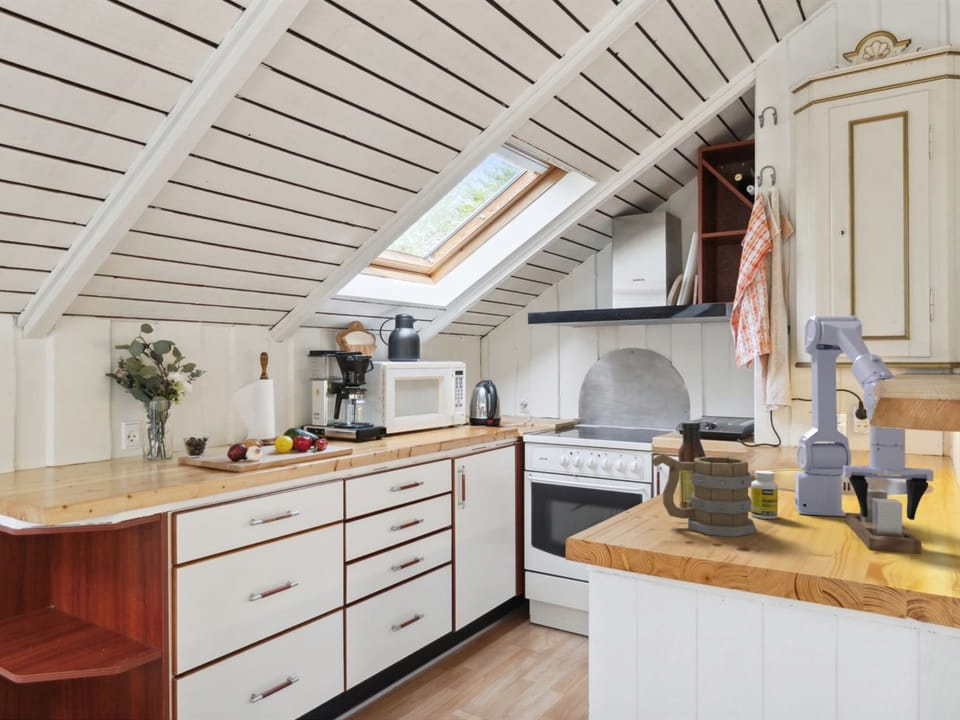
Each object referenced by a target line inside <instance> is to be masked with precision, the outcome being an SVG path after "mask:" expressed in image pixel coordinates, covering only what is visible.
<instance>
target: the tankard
mask: <svg viewBox="0 0 960 720" xmlns="http://www.w3.org/2000/svg"><path fill="white" fill-rule="evenodd" d="M651 462H652V464H653V466H654V467H657V466H660V465H661V464H664V465H666V466H667V467H669V469H668V479H667V482H666V483H665V487H664V489H663V491H662V504H663V506H664V508H665V510H666V511H667V513H668V515H669V516H670V517H674V518H678V519H681V520H682V519H687V526H688V529H689V531H693V532H697V533H701V534H704V535H707V536H717V537H732V538H733V537H734V538H736V537H742V536H748V535H753V534H755V533H756V525H755V523H754V520H753V519H752V518H749V513H751V504H752V502H751V496H749V488H750V489H751V483H752V482H753V478H752V475H751V473H750V471H749V463H748V461H747V460H746V459H743V458H737V457H736V458H735V457H732V456H731V457H729V456H728V457H727V456H706V457H699V458H695V459H694V462H680V461H679V459H675V458H672V457H671V456H668V455H667V454H665V453H664V452H662V453H661V454H658V455H657V456H655V457H653V458H651ZM680 470H686V471H692V475H691V476H690V478H691V479H692V484H693V485H694V492H693V493H692V498H691V499H690V501H691V502H692V507H691V508H681V507H680V506H679V507H678V506H676V504H675V502H674V495H675V492H676V490H677V487H678V486H679V471H680Z"/></svg>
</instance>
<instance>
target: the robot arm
mask: <svg viewBox="0 0 960 720" xmlns="http://www.w3.org/2000/svg"><path fill="white" fill-rule="evenodd" d="M862 333H863V324H862V322H861V320H860V319H859V318H858V316H856V315H837V316H836V315H833V316H832V315H831V316H830V315H829V316H828V315H826V316H825V315H824V316H823V315H812V316H810V317H809V318H808V319H807V321H806V323H805V325H804V333H803V334H804V350H805V351H804V352H805V353H807V354H808V355H810V356H811V357H810V359H811V360H810V361H811V366H810V367H811V421H812V422H811V423H812V424H811V425H812V427H811V428H810V429H809V430H807V431H805V433H803V434H802V435H801V436H799V439H798V446H797V450H796V459H797V464H798V466H799V467H800V468H801V470H802V471H797V472H795V480H794V482H795V483H794V484H795V486H794V488H795V492H794V494H795V495H794V496H795V497H794V504H795V505H794V508H795V509H796V511H797V512H798V514H799V515H811V516H812V515H815V516H831V517H845V518H846V513H847V512H845V511H844V510H843V503H842V501H843V491H842V490H843V484H842V483H843V480H842V479H843V477H845V478H848V480H849V482H850V484H851V486H852V488H853V491H854V492H855V495H856V498H857V500H858V501H857V502H858V504H859V510H861V515H862V516H863V517H868V508H867V492H868V488H869V482H868V481H867V478H870V479H889V480H890V479H894V480H896V479H897V480H905V485H906V487H905V488H906V497H907V499H906V500H907V501H906V518H907V519H909V520H910V521H915V517H916V513H917V509H918V506H919V505H920V501H921V500H922V498H923V495H924V494H925V493H926V491H927V490H928V488H929V482H934V470H932V469H930V468H916V467H907V466H906V428H905V429H896V428H882V427H874V426H871V424H870V423H871V418H872V413H873V409H874V405H875V402H876V399H875V397H874V396H873V389H874V386H875V384H876V383H877V382H878V381H880V380H885V379H891V378H896V376H894V375H893V373H892V371H891V370H890V369H889V367H888V366H887V364H886V363H885V362H884V361H883V359H882V358H881V357H880V356H879V355H877V354H874V353H873V354H872V353H871V352H870V350H869V349H868V347H867V344H866V343H865V341H864V340H863V337H862V335H863V334H862ZM842 354H845V355H846V356H847V358H848V359H849V360H850V362H851V363H852V365H851V373H852V375H853V376H854V378H855V379H856V380H857V382H858V384H859V385H860V387H861V388H862V390H863V394H862V398H863V400H862V401H863V403H864V406H865V408H866V418H867V420H869V465H851V464H852V452H851V450H850V445H849V444H850V443H849V438H848V437H847V436H846V435H845V434H843V433H842V432H841V431H839V430H838V420H837V419H838V412H837V411H838V410H837V406H838V404H837V403H838V401H837V359H838V357H840V355H842Z"/></svg>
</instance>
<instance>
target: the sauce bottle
mask: <svg viewBox="0 0 960 720" xmlns="http://www.w3.org/2000/svg"><path fill="white" fill-rule="evenodd" d="M681 428H682V437H683V438H682V443H681V445H680V447H679V449H678V461H680V462H694V459H695V458H699V457H707V456H706V453H705V451H704V447H703V444H702V442H701V436H700V434H701V433H700V432H701V431H700V430H701V423H700V422H699V421H683V422H681ZM691 475H692V471H686V470H680V471H679V481H678V499H679V500H678V501H679V508H691V507H692V502H691V501H690V499H691V498H692V493H693V492H694V485H693V484H692V479H691V478H690V476H691Z"/></svg>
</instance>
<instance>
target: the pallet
mask: <svg viewBox="0 0 960 720" xmlns="http://www.w3.org/2000/svg"><path fill="white" fill-rule="evenodd" d="M872 498H876V499H888V492H887V491H886V490H885V489H884V488H875V487H873V488H872V487H871V488H870V487H868V492H867V508H868V517H863V516H862V515H861V510H860V509H859V510H860V511H859V513H858V512H857V513H855V512H845V513H846V517H845V523H846V524H847V525H848V527H849V528H850V529H851V530H852V531H853V533H854V534H855V535H856V536H857V537H858V539H860V541H861V540H862V541H861V542H862V543H863V544H864V545H865V546H866V548H868V550H869V551H870V550H871V551H885V552H898V553H901V552H902V553H910V554H911V553H912V554H922V541H920V540H919V539H918V538H917V537H916V536H915V535H914V534H912V533H911V532H910V531H909V530H908V529H906V528H905V527H904V526H903V525H902V538H901V537H886V536H873V503H872Z"/></svg>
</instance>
